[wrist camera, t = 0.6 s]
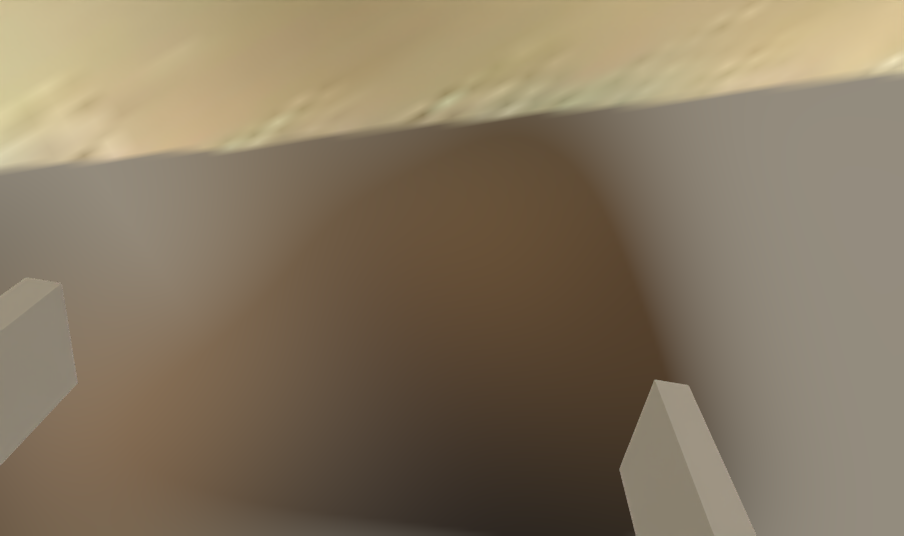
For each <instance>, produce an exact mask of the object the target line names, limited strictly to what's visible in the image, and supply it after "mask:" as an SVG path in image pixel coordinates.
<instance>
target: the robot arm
mask: <svg viewBox="0 0 904 536" xmlns="http://www.w3.org/2000/svg"><path fill="white" fill-rule="evenodd" d="M77 383H78V382H77V376H76V370H75V364H74V357H73V351H72V345H71V339H70V332H69V326H68V320H67V314H66V308H65V301H64V295H63V289H62V283H57V282H51V281H45V280H39V279H33V278H25V279H23V280H22V281H20V282H19V283H18V284H16V285H15V286H13V287H12V288H11V289H9V290H8V291H7V292H5V293H4V294H2V295H1V296H0V465H1V464H2V463H3V462H4V461H5V460H6V459H7V458H8V457H9V455H10V454H11V453H12V452H13V451H14V450H15V449H16V448H17V447H18V446H19V445H20V444H21V443H22V442H23V440H25V439H26V437H27V436H28V435H29V434H30V433H31V432H32V431H33V430H34V429H35V428H36V427H37V426H38V425H39V424H40V422H41V421H42V420H43V419H44V418H45V417H46V416H47V415H48V414H49V413H50V412H51V411H52V410H53V409H54V408H55V407H56V406H57V404H58V403H59V402H60V401H61V400H62V399H63V398H64V397H65V396H66V395H67V394H68V393H69V392H70V391H71V390H72V388H73V387H74V386H75V385H76V384H77ZM620 473H621V477H622V481H623V485H624V489H625V493H626V497H627V501H628V505H629V509H630V513H631V517H632V521H633V525H634V529H635V534H636V536H756V534H755V531H754V529H753V527H752V525H751V522H750V520H749V518H748V516H747V513H746V511H745V509H744V507H743V505H742V502H741V500H740V498H739V496H738V494H737V491H736V489H735V487H734V485H733V483H732V480H731V478H730V476H729V474H728V472H727V469H726V467H725V465H724V463H723V460H722V458H721V456H720V454H719V452H718V449H717V447H716V445H715V443H714V441H713V438H712V436H711V434H710V432H709V430H708V427H707V425H706V423H705V421H704V419H703V416H702V414H701V412H700V410H699V407H698V405H697V403H696V401H695V399H694V397H693V394H692V392H691V390H690V388H689V386H688V385H684V384H678V383H672V382H666V381H659V380H654V383H653V385H652V388H651V391H650V393H649V395H648V398H647V401H646V403H645V406H644V408H643V411H642V413H641V416H640V418H639V421H638V423H637V426H636V428H635V431H634V433H633V436H632V439H631V441H630V444H629V446H628V449H627V451H626V454H625V456H624V459H623V462H622V464H621V467H620Z"/></svg>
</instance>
